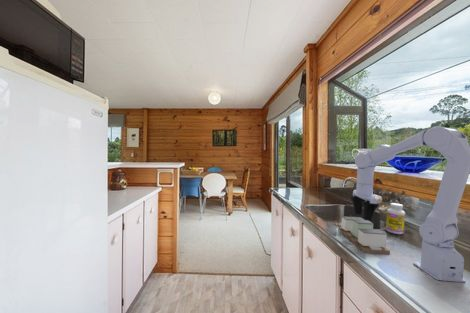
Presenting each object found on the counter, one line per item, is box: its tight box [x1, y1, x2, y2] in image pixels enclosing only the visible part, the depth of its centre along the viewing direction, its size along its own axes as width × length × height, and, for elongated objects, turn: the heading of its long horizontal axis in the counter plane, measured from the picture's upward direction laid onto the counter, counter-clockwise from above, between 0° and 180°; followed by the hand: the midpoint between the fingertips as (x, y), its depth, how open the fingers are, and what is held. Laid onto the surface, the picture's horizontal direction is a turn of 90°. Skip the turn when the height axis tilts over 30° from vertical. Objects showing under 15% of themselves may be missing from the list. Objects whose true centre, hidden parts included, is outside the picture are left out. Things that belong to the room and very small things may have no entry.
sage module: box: [352, 219, 373, 238], centre depth 90 cm, size 4×6×6 cm, turn 86°
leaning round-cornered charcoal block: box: [343, 204, 382, 230], centre depth 107 cm, size 16×5×9 cm, turn 39°
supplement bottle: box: [385, 202, 406, 235], centre depth 102 cm, size 7×7×13 cm
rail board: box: [338, 226, 391, 255], centre depth 90 cm, size 22×9×2 cm, turn 177°
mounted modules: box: [341, 215, 388, 248], centre depth 90 cm, size 19×8×5 cm, turn 177°
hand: (362, 217), depth 90 cm, fingers open, 7 cm apart
